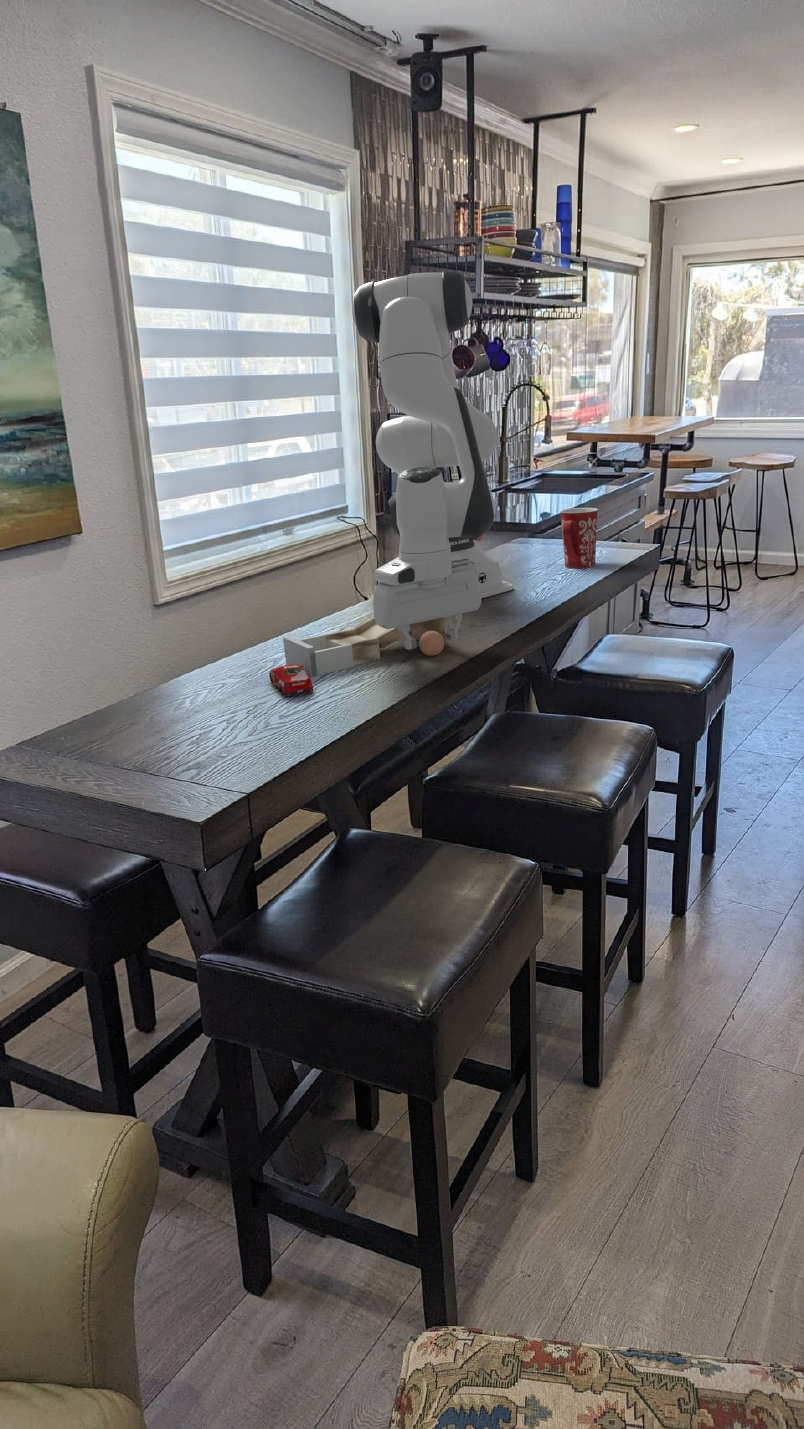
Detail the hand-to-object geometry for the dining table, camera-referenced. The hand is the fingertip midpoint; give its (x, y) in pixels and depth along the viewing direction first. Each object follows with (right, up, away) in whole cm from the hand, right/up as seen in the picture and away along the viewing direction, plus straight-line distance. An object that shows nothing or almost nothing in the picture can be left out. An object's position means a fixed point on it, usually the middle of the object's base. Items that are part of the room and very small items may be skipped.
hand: (431, 643), depth 173 cm
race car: (-23, -8, -10) cm, 27 cm away
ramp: (-8, -1, +6) cm, 10 cm away
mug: (+37, +23, +66) cm, 79 cm away
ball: (0, 0, 0) cm, 0 cm away
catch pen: (-20, -4, 0) cm, 20 cm away
